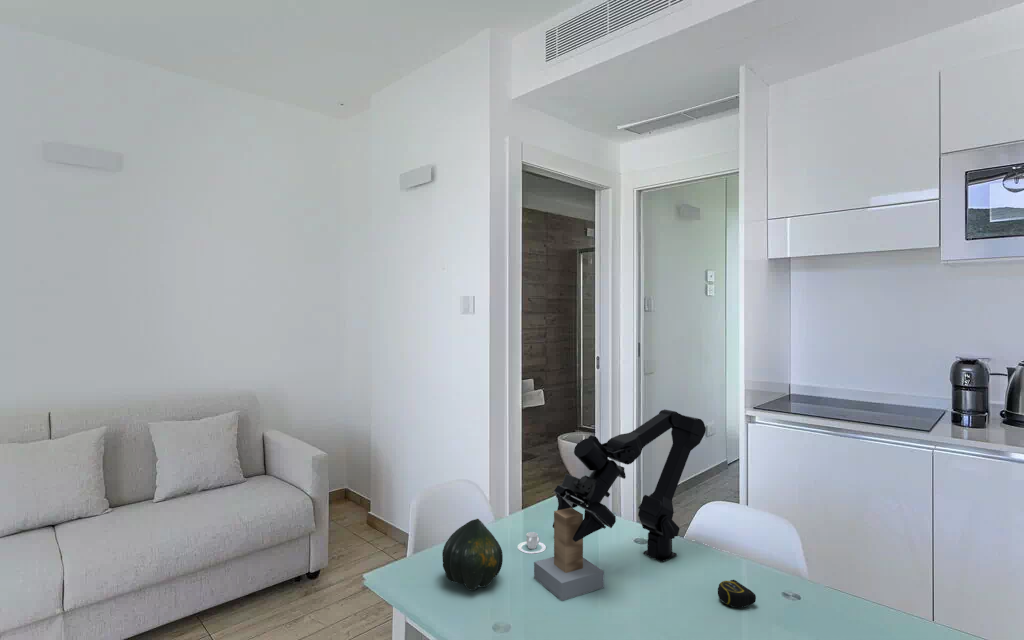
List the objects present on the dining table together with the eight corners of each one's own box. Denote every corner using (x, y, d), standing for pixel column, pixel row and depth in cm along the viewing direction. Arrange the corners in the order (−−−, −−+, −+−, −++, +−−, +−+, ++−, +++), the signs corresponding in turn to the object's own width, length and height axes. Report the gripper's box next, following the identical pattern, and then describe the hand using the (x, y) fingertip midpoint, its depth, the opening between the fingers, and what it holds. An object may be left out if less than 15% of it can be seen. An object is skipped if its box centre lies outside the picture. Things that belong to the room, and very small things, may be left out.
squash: (444, 581, 118) (484, 522, 123) (423, 556, 132) (460, 504, 137) (488, 612, 123) (524, 554, 128) (463, 585, 136) (497, 534, 141)
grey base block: (573, 566, 137) (573, 551, 137) (603, 587, 126) (603, 570, 126) (534, 578, 131) (534, 561, 131) (561, 600, 120) (561, 583, 120)
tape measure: (757, 608, 118) (757, 591, 118) (731, 613, 116) (732, 596, 116) (735, 593, 124) (736, 577, 124) (711, 597, 122) (711, 581, 122)
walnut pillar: (571, 559, 132) (571, 507, 132) (582, 568, 127) (582, 514, 127) (554, 564, 130) (554, 511, 129) (565, 573, 125) (565, 517, 125)
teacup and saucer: (529, 539, 155) (529, 525, 154) (552, 546, 150) (552, 532, 150) (511, 550, 147) (511, 535, 147) (535, 557, 143) (535, 542, 143)
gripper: (559, 453, 138) (523, 502, 133) (606, 471, 122) (566, 528, 117) (584, 478, 142) (549, 528, 137) (632, 499, 126) (595, 556, 121)
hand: (563, 534), depth 128 cm, fingers open, 8 cm apart
